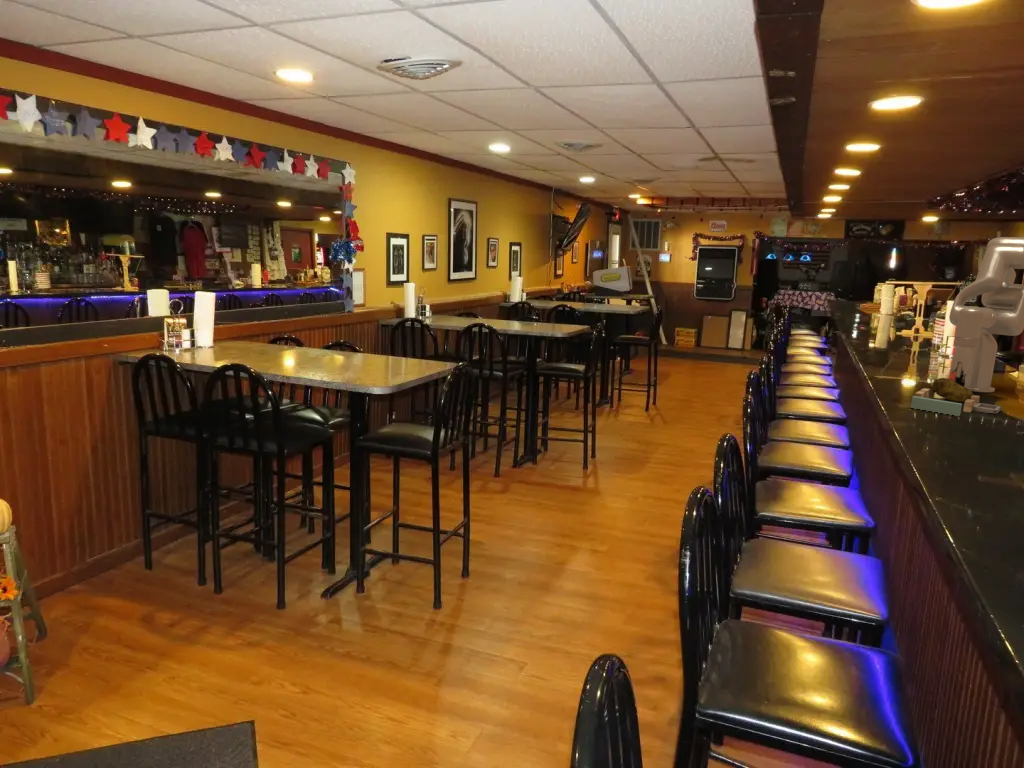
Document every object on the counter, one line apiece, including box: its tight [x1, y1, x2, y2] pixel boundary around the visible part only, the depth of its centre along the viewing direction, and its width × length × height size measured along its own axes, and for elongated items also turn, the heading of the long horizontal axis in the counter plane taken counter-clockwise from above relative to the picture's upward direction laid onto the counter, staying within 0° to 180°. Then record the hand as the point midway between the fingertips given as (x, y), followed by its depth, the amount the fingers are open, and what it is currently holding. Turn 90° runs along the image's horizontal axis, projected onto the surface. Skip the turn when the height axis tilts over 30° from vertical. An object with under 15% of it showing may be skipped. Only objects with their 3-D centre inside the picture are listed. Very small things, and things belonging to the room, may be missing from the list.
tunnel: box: [913, 387, 981, 413], centre depth 240 cm, size 14×17×4 cm
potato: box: [932, 377, 974, 403], centre depth 246 cm, size 8×13×8 cm, turn 64°
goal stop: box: [910, 395, 963, 417], centre depth 228 cm, size 2×14×4 cm, turn 48°
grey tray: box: [972, 402, 1002, 415], centre depth 233 cm, size 9×6×2 cm
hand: (957, 392), depth 254 cm, fingers closed
